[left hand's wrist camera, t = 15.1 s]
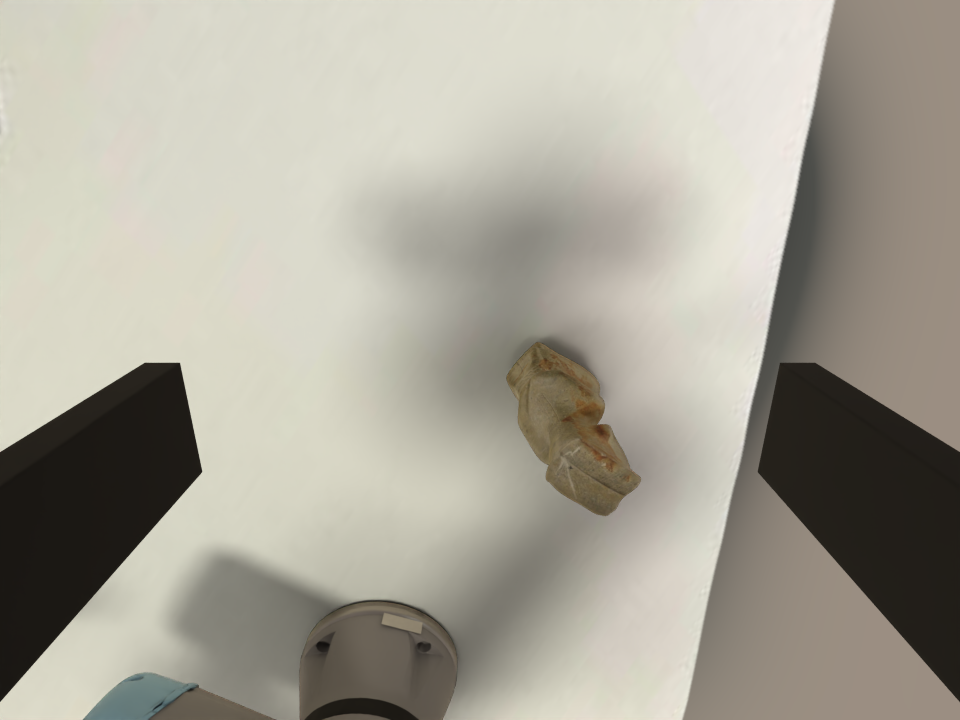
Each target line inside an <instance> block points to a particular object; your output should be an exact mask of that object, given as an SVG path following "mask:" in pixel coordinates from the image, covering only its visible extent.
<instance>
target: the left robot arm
mask: <svg viewBox="0 0 960 720" xmlns="http://www.w3.org/2000/svg"><path fill="white" fill-rule="evenodd" d="M201 473H202V468H201V463H200V458H199V454H198V449H197V444H196V439H195V434H194V429H193V424H192V419H191V415H190V410H189V405H188V400H187V395H186V390H185V385H184V380H183V376H182V371H181V366H180V363H144V364H142V365H141V366H139V367H137V368H136V369H134V370H132V371H131V372H129V373H128V374H126V375H124V376H123V377H121V378H120V379H118V380H116V381H115V382H113V383H111V384H110V385H108V386H107V387H105V388H103V389H102V390H100V391H98V392H97V393H95V394H94V395H92V396H90V397H89V398H87V399H86V400H84V401H82V402H81V403H79V404H77V405H76V406H74V407H73V408H71V409H69V410H68V411H66V412H64V413H63V414H61V415H60V416H58V417H56V418H55V419H53V420H51V421H50V422H48V423H47V424H45V425H43V426H42V427H40V428H39V429H37V430H35V431H34V432H32V433H30V434H29V435H27V436H26V437H24V438H22V439H21V440H19V441H17V442H16V443H14V444H13V445H11V446H9V447H8V448H6V449H5V450H3V451H1V452H0V702H1V700H2V699H3V698H4V697H5V696H6V695H7V694H8V692H9V691H10V690H11V689H12V688H13V687H14V686H15V684H16V683H17V682H18V681H19V680H20V679H21V678H22V676H23V675H24V674H25V673H26V672H27V671H28V670H29V669H30V667H31V666H32V665H33V664H34V663H35V662H36V661H37V659H38V658H39V657H40V656H41V655H42V654H43V653H44V651H45V650H46V649H47V648H48V647H49V646H50V645H51V644H52V642H53V641H54V640H55V639H56V638H57V637H58V636H59V634H60V633H61V632H62V631H63V630H64V629H65V628H66V626H67V625H68V624H69V623H70V622H71V621H72V620H73V618H74V617H75V616H76V615H77V614H78V613H79V612H80V611H81V609H82V608H83V607H84V606H85V605H86V604H87V603H88V601H89V600H90V599H91V598H92V597H93V596H94V595H95V593H96V592H97V591H98V590H99V589H100V588H101V587H102V585H103V584H104V583H105V582H106V581H107V580H108V579H109V578H110V576H111V575H112V574H113V573H114V572H115V571H116V570H117V568H118V567H119V566H120V565H121V564H122V563H123V562H124V560H125V559H126V558H127V557H128V556H129V555H130V554H131V552H132V551H133V550H134V549H135V548H136V547H137V546H138V545H139V543H140V542H141V541H142V540H143V539H144V538H145V537H146V535H147V534H148V533H149V532H150V531H151V530H152V529H153V527H154V526H155V525H156V524H157V523H158V522H159V521H160V519H161V518H162V517H163V516H164V515H165V514H166V513H167V512H168V510H169V509H170V508H171V507H172V506H173V505H174V504H175V502H176V501H177V500H178V499H179V498H180V497H181V496H182V494H183V493H184V492H185V491H186V490H187V489H188V488H189V487H190V485H191V484H192V483H193V482H194V481H195V480H196V479H197V477H198V476H199V475H200V474H201ZM758 473H759V474H760V475H761V476H762V477H763V479H764V480H765V481H766V482H767V483H768V484H769V485H770V487H771V488H772V489H773V490H774V491H775V492H776V493H777V494H778V496H779V497H780V498H781V499H782V500H783V501H784V502H785V503H786V505H787V506H788V507H789V508H790V509H791V510H792V511H793V513H794V514H795V515H796V516H797V517H798V518H799V519H800V521H801V522H802V523H803V524H804V525H805V526H806V527H807V529H808V530H809V531H810V532H811V533H812V534H813V535H814V537H815V538H816V539H817V540H818V541H819V542H820V543H821V545H822V546H823V547H824V548H825V549H826V550H827V551H828V552H829V554H830V555H831V556H832V557H833V558H834V559H835V560H836V562H837V563H838V564H839V565H840V566H841V567H842V568H843V570H844V571H845V572H846V573H847V574H848V575H849V576H850V577H851V579H852V580H853V581H854V582H855V583H856V584H857V585H858V587H859V588H860V589H861V590H862V591H863V592H864V593H865V595H866V596H867V597H868V598H869V599H870V600H871V601H872V603H873V604H874V605H875V606H876V607H877V608H878V609H879V611H880V612H881V613H882V614H883V615H884V616H885V617H886V618H887V620H888V621H889V622H890V623H891V624H892V625H893V626H894V628H895V629H896V630H897V631H898V632H899V633H900V634H901V636H902V637H903V638H904V639H905V640H906V641H907V642H908V643H909V645H910V646H911V647H912V648H913V649H914V650H915V651H916V653H917V654H918V655H919V656H920V657H921V658H922V659H923V661H924V662H925V663H926V664H927V665H928V666H929V667H930V669H931V670H932V671H933V672H934V673H935V674H936V675H937V676H938V678H939V679H940V680H941V681H942V682H943V683H944V684H945V686H946V687H947V688H948V689H949V690H950V691H951V692H952V694H953V695H954V696H955V697H956V698H957V699H958V700H959V701H960V452H959V451H957V450H955V449H954V448H952V447H951V446H949V445H947V444H946V443H944V442H943V441H941V440H939V439H938V438H936V437H934V436H933V435H931V434H929V433H928V432H926V431H925V430H923V429H921V428H920V427H918V426H917V425H915V424H913V423H912V422H910V421H908V420H907V419H905V418H904V417H902V416H900V415H899V414H897V413H896V412H894V411H892V410H891V409H889V408H887V407H886V406H884V405H883V404H881V403H879V402H878V401H876V400H874V399H873V398H871V397H870V396H868V395H866V394H865V393H863V392H862V391H860V390H858V389H857V388H855V387H853V386H852V385H850V384H849V383H847V382H845V381H844V380H842V379H840V378H839V377H837V376H836V375H834V374H832V373H831V372H829V371H827V370H826V369H824V368H823V367H821V366H819V365H818V364H816V363H780V366H779V371H778V376H777V380H776V385H775V390H774V395H773V400H772V405H771V410H770V415H769V419H768V424H767V429H766V434H765V439H764V444H763V449H762V454H761V458H760V463H759V468H758ZM456 678H457V654H456V650H455V647H454V644H453V642H452V640H451V638H450V637H449V635H448V634H447V633H446V631H445V630H444V629H443V628H442V627H441V626H440V625H439V624H438V623H437V622H436V621H434V620H433V619H432V618H430V617H429V616H427V615H425V614H424V613H422V612H420V611H418V610H415V609H413V608H410V607H407V606H404V605H400V604H395V603H389V602H364V603H357V604H353V605H349V606H346V607H343V608H341V609H338V610H336V611H334V612H332V613H331V614H329V615H327V616H326V617H325V618H323V619H322V620H321V621H320V622H319V623H318V624H317V625H316V626H315V627H314V629H313V630H312V632H311V633H310V635H309V637H308V639H307V642H306V645H305V648H304V651H303V654H302V657H301V661H300V670H299V691H300V720H443V717H444V715H445V713H446V710H447V708H448V705H449V703H450V700H451V698H452V695H453V692H454V688H455V685H456ZM83 720H275V719H273V718H270V717H268V716H265V715H263V714H261V713H258V712H256V711H253V710H251V709H249V708H246V707H244V706H241V705H239V704H237V703H234V702H232V701H229V700H227V699H224V698H222V697H220V696H217V695H215V694H212V693H210V692H208V691H205V690H203V689H200V688H199V685H197V684H195V683H188V684H185V683H182V682H179V681H176V680H173V679H170V678H167V677H164V676H161V675H158V674H155V673H139V674H135V675H133V676H131V677H128V678H127V679H125V680H123V681H122V682H121V683H119V684H118V685H117V686H116V687H114V688H113V689H112V690H111V691H110V692H109V693H108V694H107V695H106V696H104V697H103V698H102V700H101V701H100V702H99V703H98V704H97V705H96V706H95V707H94V708H93V709H92V710H91V711H90V712H89V713H88V715H87V716H86V717H85V718H84V719H83Z"/></svg>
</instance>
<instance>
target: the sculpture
mask: <svg viewBox="0 0 960 720" xmlns="http://www.w3.org/2000/svg"><path fill="white" fill-rule="evenodd" d="M506 379H507V382H508V385H509V386H510V388H511V390H512V392H513V393H514V395H515V397H516V398H517V400H518V401H519V408H518V424H519V427H520V429H521V431H522V432H523V434H524V436H525V438H526V439H527V441H528V443H529V444H530V446H531V448H532V449H533V451H534V452H535V454H536V455H537V457H538V458H539V459H540V460H541V461H542V462H544V463H545V464H547V465H549V466H548V469H547V472H546V480H547V481H548V482H550V483H551V484H552V485H553V486H554V488H555V489H557V490H558V491H559V492H560V493H561V494H563V495H564V496H566V497H567V498H569V499H571V500H573V501H575V502H576V503H578V504H580V505H582V506H583V507H585V508H587V509H588V510H590V511H591V512H593V513H595V514H598V515H602V516H607V515H609V514H610V513H612V512H613V511H614V510H616V508H617V507H618V505H619V503H620V501H621V500H622V498H623V497H624V496H626V495H627V494H629V493H630V492H632V491H633V490H634V489H635V488H636V487H637V486H638V485H639V483H640V482H641V478H640V476H638V475H637V474H636V473H635V472H633V471H632V470H631V469H630V466H629V463H628V460H627V458H626V456H625V454H624V452H623V450H622V448H621V447H620V445H619V443H618V442H617V440H616V438H615V436H614V434H613V431H612V429H611V427H610V426H609V425H607V424H600V425H597V424H598V422H599V421H600V419H601V418H602V415H603V413H604V409H605V403H604V400H603V399H602V397H600V396H599V393H600V385H599V383H598V381H597V379H596V378H595V377H594V376H593V375H592V374H591V373H590V372H589V371H588V370H586V369H585V368H584V367H582V366H580V365H579V364H577V363H575V362H573V361H572V360H570V359H568V358H566V357H564V356H562V355H560V354H558V353H556V352H555V351H553V350H551V349H550V348H548V347H547V346H546V345H544V344H542V343H539V342H537V343H535V344H534V345H533V346H532V347H530V349H528V350H527V351H526V352H525V353H524V354H523V355H522V357H521V358H520V359H519V360H518V361H517V362H516V363H515V364H514V366H513V367H512V369H511V370H510V371H509V373H508V375H507V377H506Z"/></svg>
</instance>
